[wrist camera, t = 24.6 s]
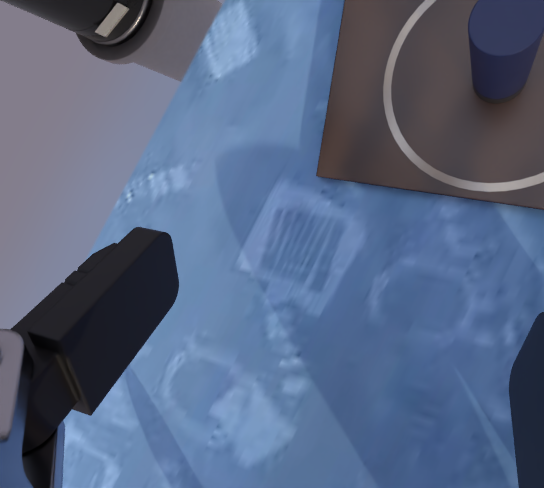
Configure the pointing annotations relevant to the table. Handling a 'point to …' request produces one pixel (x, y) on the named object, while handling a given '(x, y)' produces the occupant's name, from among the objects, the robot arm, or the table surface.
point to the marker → (503, 46)
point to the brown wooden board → (428, 108)
